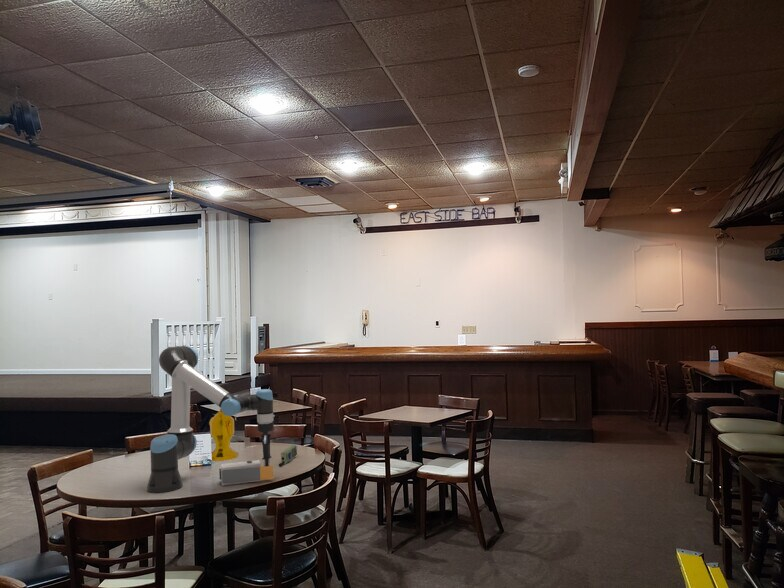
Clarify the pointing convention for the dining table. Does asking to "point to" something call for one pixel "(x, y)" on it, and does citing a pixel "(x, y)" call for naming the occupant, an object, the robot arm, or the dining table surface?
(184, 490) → the dining table surface
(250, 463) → the camera housing
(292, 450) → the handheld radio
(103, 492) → the dining table surface
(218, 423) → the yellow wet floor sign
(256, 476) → the side door
